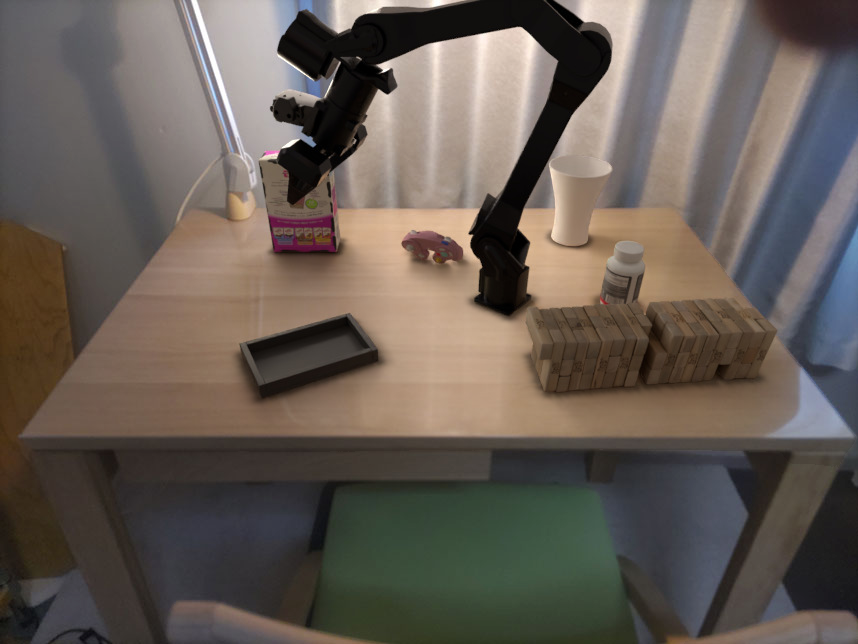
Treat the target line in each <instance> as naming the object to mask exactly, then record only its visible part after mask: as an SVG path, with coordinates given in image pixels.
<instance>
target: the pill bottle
mask: <svg viewBox="0 0 858 644" xmlns="http://www.w3.org/2000/svg"><path fill="white" fill-rule="evenodd" d="M644 253H645V247H644V246H643V245H642V244H641V243H639V242H636V241H633V240H620V241H617V242H616V243H615V245H614V249H613V255H611V256H610V257H609V258H608V259H607V260H606V261H607V262H606V264H605V270H604V274H603V280H602V283H601V290H600V296H599V304H604V305H606V304H615V305H616V304H627V303H637V304H638V300H639V296H640V292H641V287H642V285H643V280H644V276H645V271H646V263H645V262H644V259H643V258H644Z"/></svg>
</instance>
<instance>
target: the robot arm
mask: <svg viewBox="0 0 858 644" xmlns="http://www.w3.org/2000/svg"><path fill="white" fill-rule="evenodd" d="M516 28H521V29H523V30H524V31H525V32H527V34H528V35H530V36H531V37H532V38H533V39H534V40H535V41H536V42H537V44H539V45H540V47H541V48H542V49H543V50H545V52H547V53H548V55H550V56H551V57H552V58H553V59H555V60H556V61H557V62H556V65H555V69H554V72H553V76H552V79H551V82H550V87H549V89H548V93H547V97H546V100H545V102H544V104H543V106H542V108H541V110H540V112H539V114H538V116H537V118H536V120H535V122H534V124H533V126H532V129H531V131H530V133H529V135H528V136H527V139H526V140H525V143H524V145H523V147H522V149H521V152H520V154H519V155H518V158H517V160H516V161H515V164H514V166H513V167H512V170H511V172H510V173H509V177H508V178H507V180H506V182H505V185H504V187H503V188H502V190H501V191H500V192H498V194H497V196H494V195H492V194H491V193H486V195H485V197H484V199H483V202H482V204H481V205H480V208H479V210H478V212H477V213H476V216H475V218H474V220H473V222H472V224H471V227H470V229H469V231H468V236H471V238H470V242H469V248H470V249H471V251H472V253H473V255H474V256H475V257H476V259H477V260H479V262H480V266H481V268H480V269H479V270H478V287H477V291H478V293H479V294H477V295H476V296H475V297H473V302H474V303H476V304H479V305H481V306H483V307H486V308H488V309H491V310H493V311H495V312H497V313H500V314H503V315H505V316H507V317H510V316H512V315H513V314H515V312H517V311H518V310H519V309H520V308H522V307H523V306H524V305H525V304H526V303H528V302H529V301H530V300H532V294H530V293H528V292H527V291H528V283H529V275H530V266H529V265H526V261H527V258H528V253H529V250H530V247H531V241H530V240H529V239H528V237H527V236H526V235H525V234H524V233H523V232H522V231H521V230H520V229H519V226H520V223H521V219H522V216H523V214H524V210H525V208H526V205H527V203H528V201H529V198H530V197H531V195H532V194H533V191H534V189H535V188H536V186H537V184H538V181H539V180H540V178H541V176H542V174H543V172H544V170H545V169H546V167H547V165H548V164H549V162H550V159H551V157H552V155H553V153H554V151H555V149H556V148H557V145H558V144H559V141H560V139H561V138H562V136H563V134H564V132H565V130H566V128H567V127H568V125H569V122H570V121H571V119H572V116H573V115H574V114H575V112H577V110H578V109H579V108H580V107H581V106H582V105H583V103H584V102H585V101H586V100H587V99H588V97H590V96H591V94H592V93H593V91H594V90H595V88H596V87H597V86H598V85H599V83H600V82H601V80H602V79H603V78H604V76H605V75H606V73H607V72H608V71H609V69H610V65H611V64H612V59H613V58H612V57H613V46H614V43H613V39H612V35H611V33H610V31H609V30H608V29H607V28H606V27H605V26H604V25H602V23H598V22H594V21H584V20H583V19H582V18H580V17H579V16H578V15H577V14H576V13H574V12H573V11H571V10H570V9H569V8H567V7H566V6H565V5H563V4H561V3H560V2H558V1H557V0H461V1H456V2H451V3H445V4H441V5H436V6H433V7H432V6H430V7H417V6H380V7H378V8H376V9H372V10H371V11H368V12H366V13H364V14H360V15H359V16H357V18H355V20H354V22H353V23H352V25H351V27H349V28H347V29H345V30H343V31H341V32H338V31H336V30H334V29H333V28H332V27H330V26H329V25H327V24H326V23H324V22H323V21H322V20H320V19H319V18H318V16H316V15H315V13H313V12H312V11H310V10H309V9H308V8H305V9H302V10H299V11H297V14H296V17H295V19H294V20H293V21H291V23H290V25H288V27H287V29H286V30H285V32H284V34H282V35H281V36H280V37H279V41H278V44H277V47H276V55H277V57H278V58H280V59H282V60H283V61H285V62H286V63H287V64H289V65H290V66H292V67H293V68H294V69H296V70H297V71H298V72H300V73H302V74H303V75H305V76H306V77H308V78H309V79H310V80H312V81H313V82H319V80H321V79H322V78H323V79H324V80H326V81H328V80H329V79H330V78H331V77H332V76H333V74H334V76H333V78H332V80H331V82H330V85H329V86H328V89H327V91H326V93H325V95H324V96H323V97H322V98H321V97H318V96H317V95H313V94H311V93H310V94H309V93H306V92H303V91H299V90H295V89H284V90H283V91H281V92H280V93H277V94H276V95H275V96H274V98H272V104H271V105H270V106H269V111H270V112H271V113H272V117H273V118H274V120H275V121H276V122H278V123H281V124H282V123H286V124H291V125H293V126H296V127H302V129H301V131H300V132H301V133H302V134H303V135H305V136H306V137H307V138H309V137H310V138H311V141H312V143H314V144H315V145H314V146H312V145H311V144H309V143H308V142H306V141H305V140H303V139H302V138H297V139H292V140H290V141H289V142H288V143H286V144H285V145H284V146H282V147H281V148H280V150H279V151H280V152H279V154H278V156H277V159H276V161H277V163H278V164H279V165H280V166H282V167H283V168H284V169H286V170H287V171H288V191H287V202H288V203H290V204H291V205H294V204H295V203H297V202H298V201H299V200H301V199H302V198H303V197H304V196H306V195H307V194H308V193H310V192H311V191H312V190H314V189H315V188H316V187H318V186H319V185H320V184H321V183H322V182H323V181H324V180H325V178H326V176H327V175H328V174H329V173H330V172H331V171H333V170H334V171H335V169H337V168H338V167H339V166H340V165H341V164H342V163H344V162H345V161H346V160H347V159H349V158H350V157H351V156H353V154H354V153H356V152H357V151H358V150H359V148H360V147H361V146H362V145H363V144H364V142H365V140H366V138H367V136H369V135H368V131H367V127H366V125H364V123H365V122H366V120H367V118H368V116H369V115H368V114H367V112H368V110H369V108H370V107H371V104H372V102H373V101H374V99H375V97H376V95H377V92H378V91H379V90H380V92H382V93H383V94H384V95H387V96H388V95H390V94H391V93H392V92H394V91H395V90H396V89H397V88H398V82H397V79H396V78H395V75H394V69H393V67H389V68H385V69H384V68H382V67H380V66H379V65H381V64H384V63H387V62H388V61H392V60H394V59H396V58H399V57H401V56H404V55H407V54H409V53H410V52H413V51H414V50H417V49H420V48H422V47H425V46H427V45H430V44H436V43H441V42H447V41H451V40H457V39H463V38H467V37H472V36H478V35H483V34H488V33H489V34H490V33H494V32H500V31H505V30H509V29H516Z"/></svg>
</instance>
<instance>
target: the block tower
mask: <svg viewBox="0 0 858 644" xmlns="http://www.w3.org/2000/svg"><path fill="white" fill-rule="evenodd" d="M524 323H525V326H526V329H527V331H528V334H529V336H530V339H531V342H532V346H531V353H530V359H531V361H532V363H533V366H534V367H535V370H536V373H537V375H538V378H539V381H540V384H541V386H542V389H543V391H545V392H556V393H557V392H558V393H559V392H567V391H577V390H590V389H592V390H593V389H601V388H602V389H606V388H607V389H608V388H612V387H623V386H624V387H635V386H636V384H637V381H638V377H639V374H640V376H641V377H642V379H643V381H644V383H645V384H646V385H657V384H667V383H669V384H677V383H678V384H679V383H689V382H690V383H692V382H693V383H695V382H701V381H712V380H713V379H714V376H715V374H716V372H717V373H718V375H719V376H720V378H722V380H726V381H727V380H733V379H744V378H745V379H755V378H757V376H758V374H759V371H760V369H761V367H762V365H763V363H764V361H765V358H766V356H767V354H768V352H769V350H770V348H771V346H772V343H774V342H773V341H774V340H775V337H776V335H777V333H778V329H777V328H776V327H775V325H774V324H773V323H771V322H770V321H769V319H766V318H765V317H764V315H763V314H762V313H761V312H760V311H759V310H758V309H757V308H756V307H743V306H742V305H741V304H740V303H739V302H738V301H737V300H736V299H735V298H734V297H724V298H711V297H710V298H702V299H701V298H696V299H692V300H691V299H681V300H671V301H669V300H661V301H650V302H649V303H648V305H647V308H646V311H645V312H644V310H643V309H642V308H641V306H640V305H639V303H638V302H637V303H627V304H616V305H615V304H606V305H604V304H600V303H599V304H593V305H592V304H590V305H582V306H572V307H570V306H562V307H549V308H539V307H538V306H528V307H527V308H526V314H525V321H524Z"/></svg>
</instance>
